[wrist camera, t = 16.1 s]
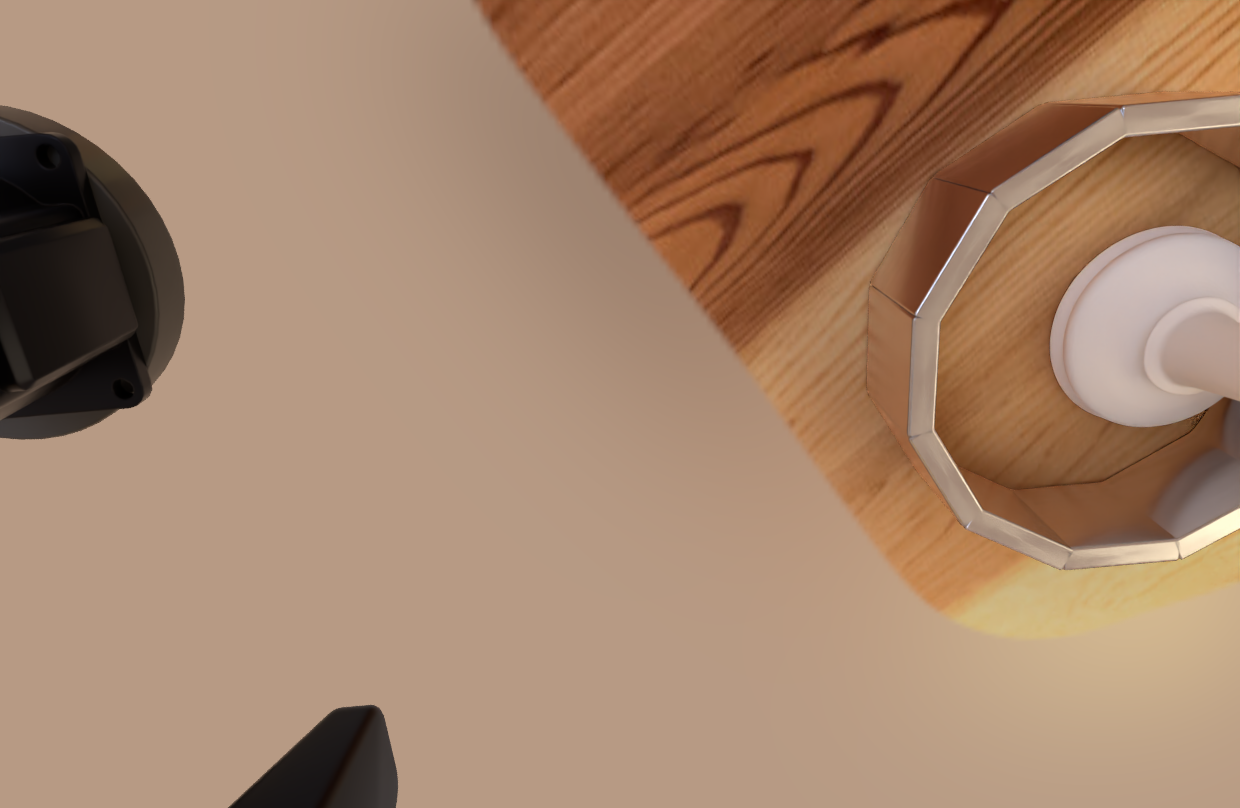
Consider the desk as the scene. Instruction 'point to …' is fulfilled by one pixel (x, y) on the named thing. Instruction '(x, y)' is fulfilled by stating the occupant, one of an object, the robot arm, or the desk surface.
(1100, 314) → the chess piece
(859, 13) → the desk surface
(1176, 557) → the steel ring
